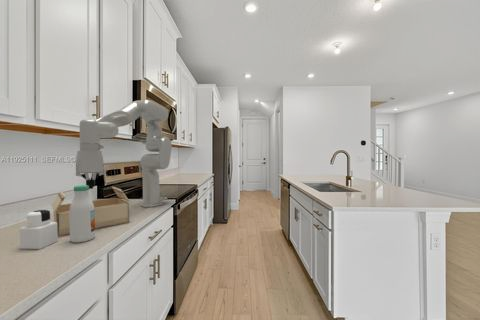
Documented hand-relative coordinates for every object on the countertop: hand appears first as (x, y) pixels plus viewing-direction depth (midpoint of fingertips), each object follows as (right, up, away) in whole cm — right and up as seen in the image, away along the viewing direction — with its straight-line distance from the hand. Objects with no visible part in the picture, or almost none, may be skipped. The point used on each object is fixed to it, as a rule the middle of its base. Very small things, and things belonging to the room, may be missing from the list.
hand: (90, 188), depth 101 cm
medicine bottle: (-3, -17, -22) cm, 28 cm away
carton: (0, -16, +1) cm, 16 cm away
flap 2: (+10, -6, +10) cm, 15 cm away
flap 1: (-10, -7, -8) cm, 15 cm away
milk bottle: (+9, -17, -17) cm, 26 cm away
